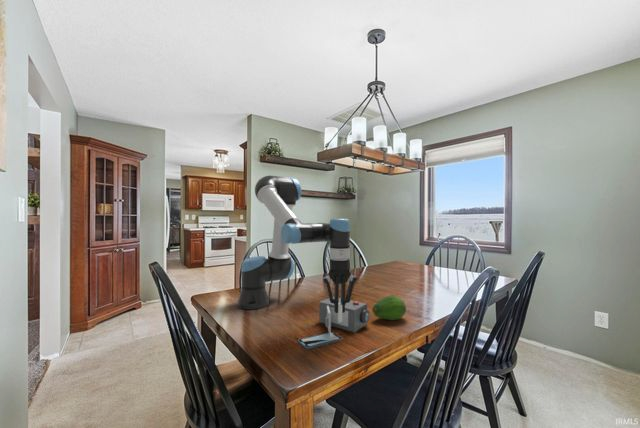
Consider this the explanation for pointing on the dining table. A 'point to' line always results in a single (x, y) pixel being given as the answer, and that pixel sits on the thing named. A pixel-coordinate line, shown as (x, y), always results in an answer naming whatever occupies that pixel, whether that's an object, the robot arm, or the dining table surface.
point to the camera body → (345, 315)
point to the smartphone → (319, 340)
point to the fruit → (389, 308)
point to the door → (328, 319)
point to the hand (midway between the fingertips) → (339, 321)
